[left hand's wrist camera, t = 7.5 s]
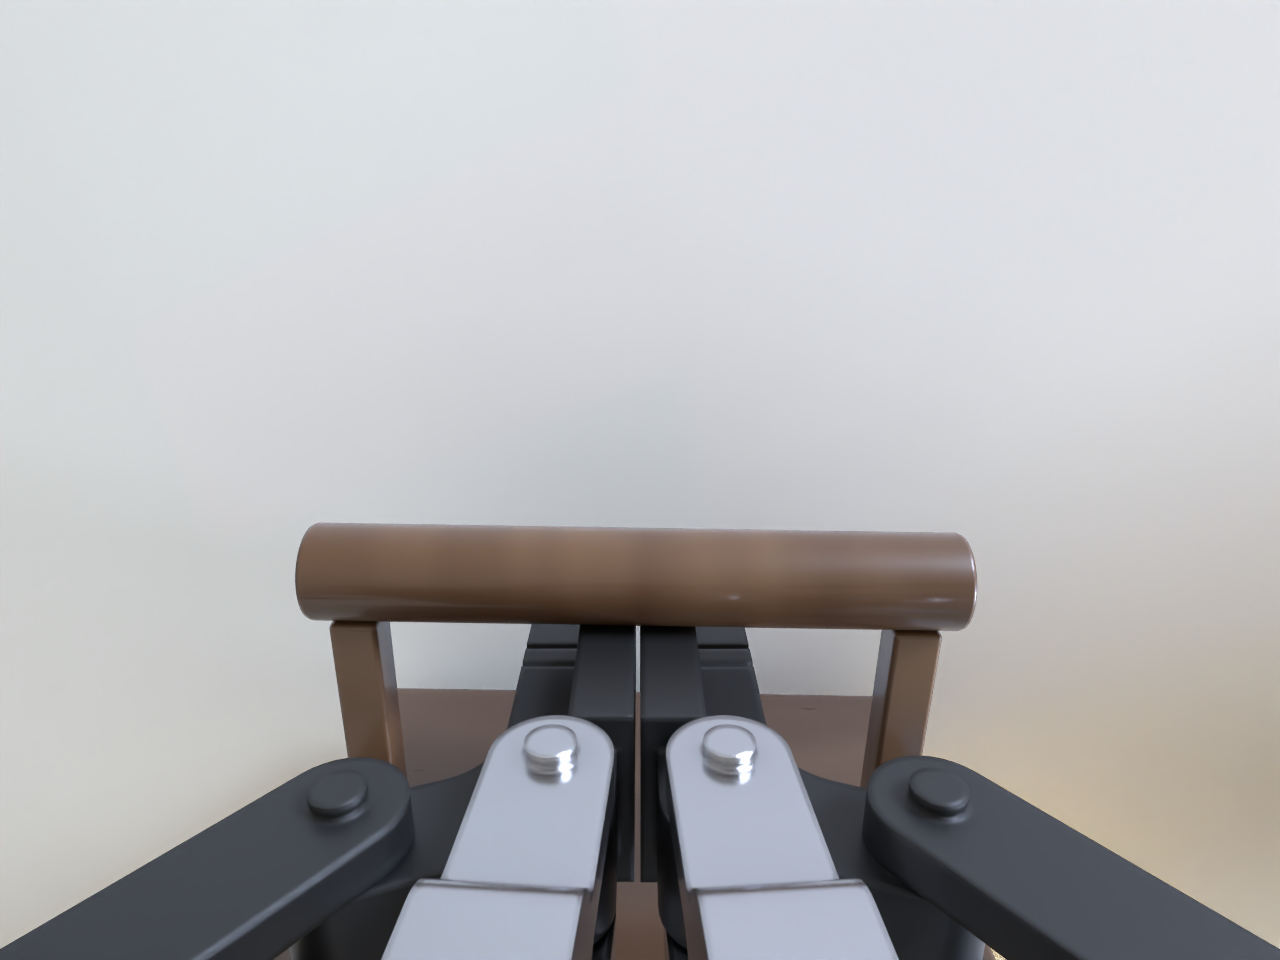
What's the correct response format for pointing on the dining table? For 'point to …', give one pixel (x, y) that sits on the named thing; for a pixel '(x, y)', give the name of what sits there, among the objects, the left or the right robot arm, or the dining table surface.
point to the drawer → (634, 596)
